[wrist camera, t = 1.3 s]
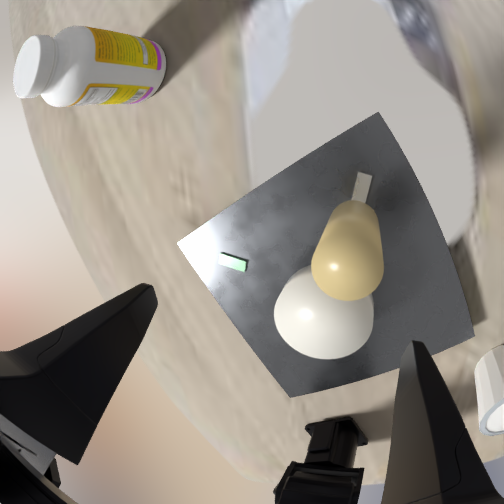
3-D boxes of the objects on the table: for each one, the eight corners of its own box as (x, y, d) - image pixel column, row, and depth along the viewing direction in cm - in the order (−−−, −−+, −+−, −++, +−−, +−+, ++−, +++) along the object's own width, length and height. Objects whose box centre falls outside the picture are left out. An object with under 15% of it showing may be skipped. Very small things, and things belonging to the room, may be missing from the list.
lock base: (471, 326, 21) (479, 348, 18) (293, 388, 30) (285, 409, 28) (377, 113, 18) (379, 109, 15) (185, 237, 28) (166, 250, 25)
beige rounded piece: (354, 352, 22) (341, 429, 15) (273, 326, 24) (236, 395, 17) (411, 211, 17) (438, 260, 10) (307, 180, 18) (272, 210, 12)
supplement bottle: (135, 34, 21) (26, 17, 10) (180, 50, 21) (61, 24, 10) (110, 91, 25) (2, 97, 14) (151, 114, 24) (30, 124, 13)
